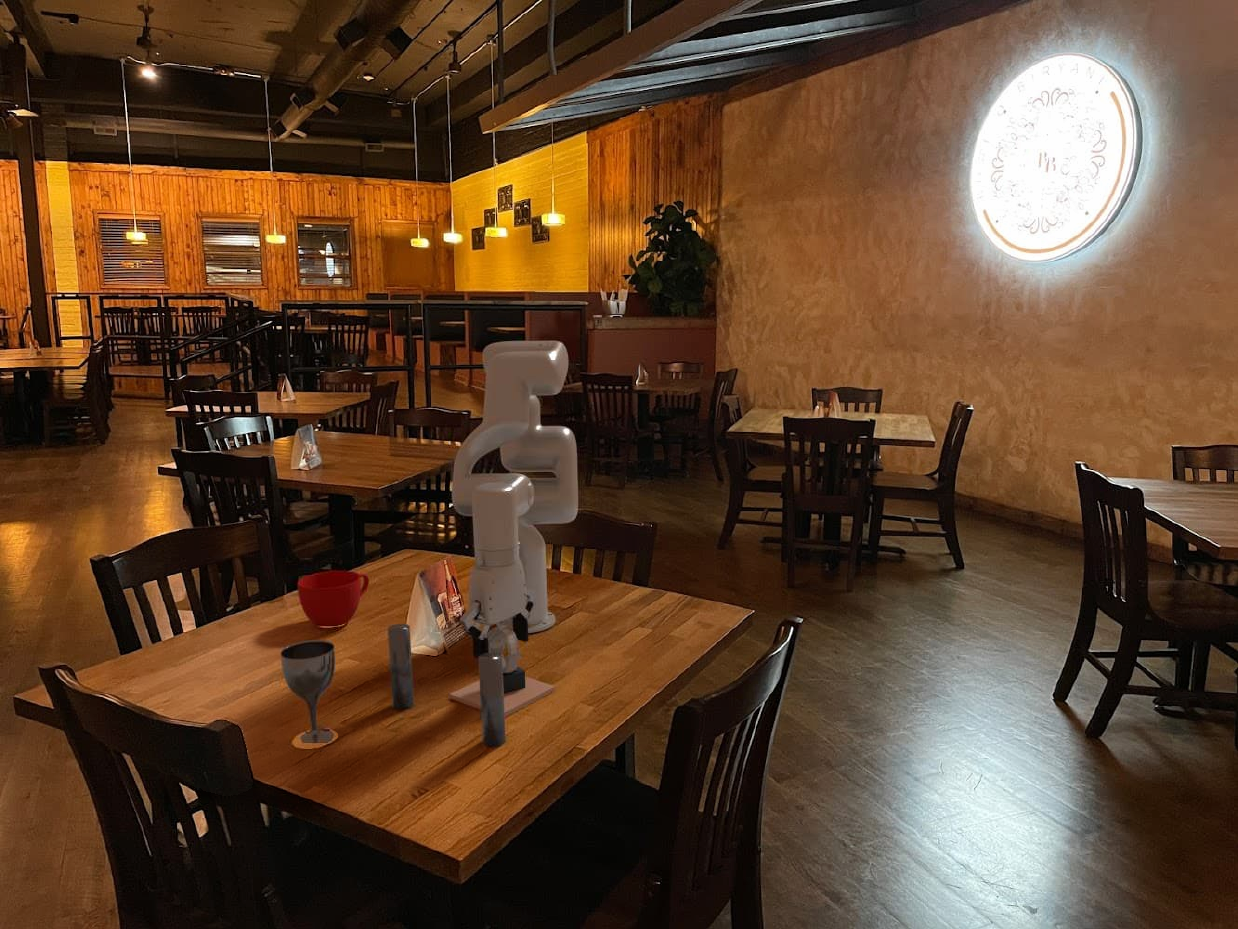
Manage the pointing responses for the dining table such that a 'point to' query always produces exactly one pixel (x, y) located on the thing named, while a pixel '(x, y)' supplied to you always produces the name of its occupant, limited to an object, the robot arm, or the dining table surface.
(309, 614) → the ceramic cup
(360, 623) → the dining table surface
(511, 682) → the watch
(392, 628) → the metal post
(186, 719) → the dining table surface
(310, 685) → the wine glass
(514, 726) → the dining table surface
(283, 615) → the dining table surface
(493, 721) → the metal post
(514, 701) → the terracotta tile
